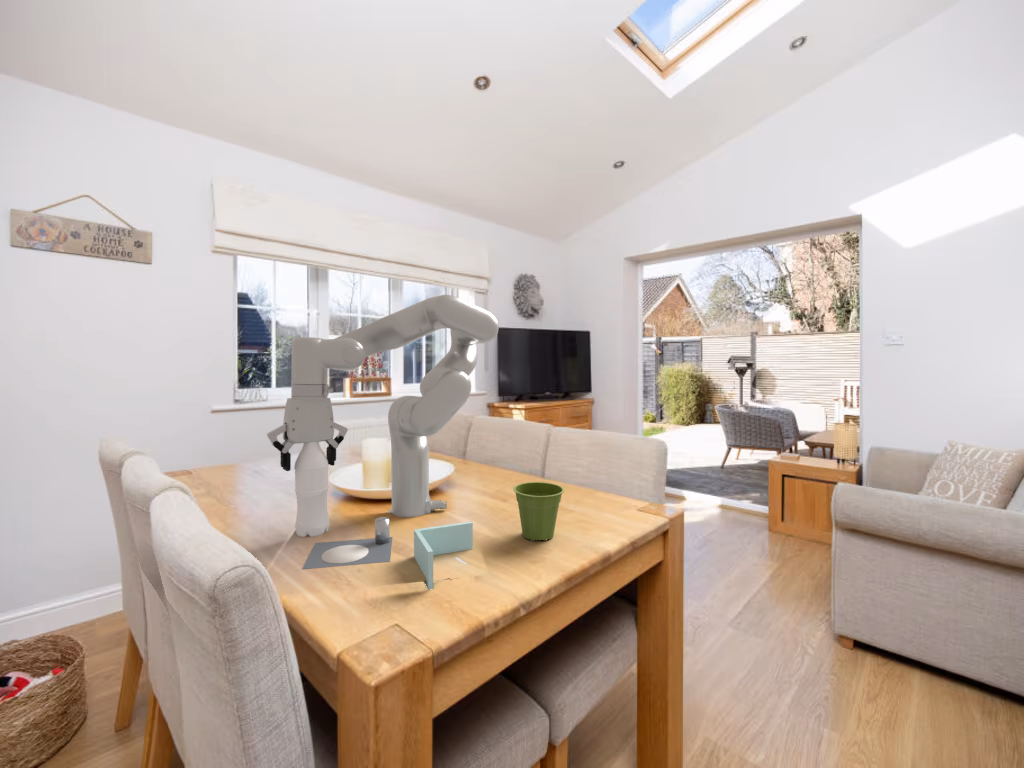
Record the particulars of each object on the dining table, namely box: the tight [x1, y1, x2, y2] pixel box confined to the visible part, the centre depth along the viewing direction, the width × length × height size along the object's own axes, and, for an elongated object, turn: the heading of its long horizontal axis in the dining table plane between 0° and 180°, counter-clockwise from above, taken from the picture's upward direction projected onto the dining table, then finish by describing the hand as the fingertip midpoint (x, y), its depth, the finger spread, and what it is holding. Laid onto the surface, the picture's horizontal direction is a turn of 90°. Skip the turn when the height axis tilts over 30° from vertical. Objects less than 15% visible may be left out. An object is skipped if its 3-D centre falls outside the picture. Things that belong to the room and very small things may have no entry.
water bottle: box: [293, 442, 330, 538], centre depth 105 cm, size 7×7×25 cm
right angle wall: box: [413, 521, 474, 591], centre depth 89 cm, size 12×12×8 cm
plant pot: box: [512, 481, 565, 541], centre depth 107 cm, size 12×12×11 cm
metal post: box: [374, 516, 391, 545], centre depth 100 cm, size 3×3×5 cm
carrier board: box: [301, 536, 393, 570], centre depth 95 cm, size 16×13×2 cm
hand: (309, 467), depth 105 cm, fingers open, 9 cm apart
